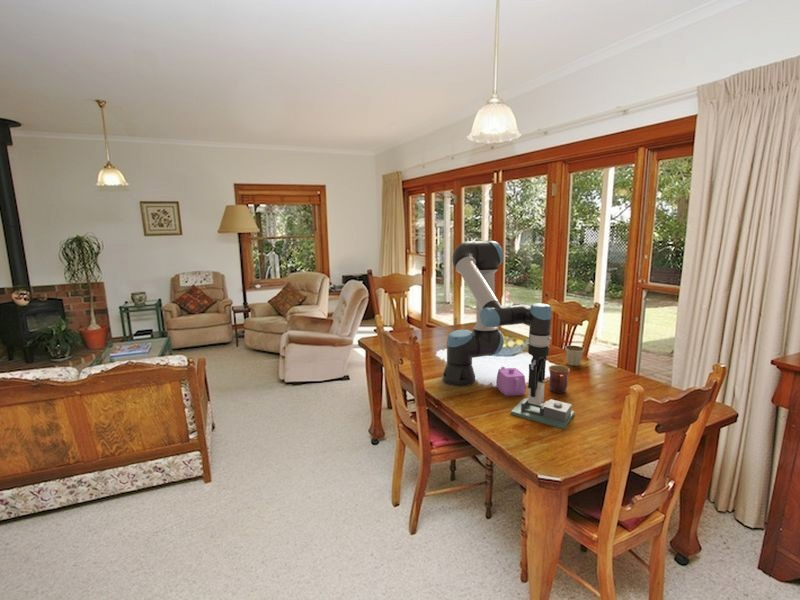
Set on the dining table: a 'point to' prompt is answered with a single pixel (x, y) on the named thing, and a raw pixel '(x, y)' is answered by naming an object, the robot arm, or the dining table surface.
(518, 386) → the teapot
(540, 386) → the light grey block
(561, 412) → the board
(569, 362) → the flower pot
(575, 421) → the dining table surface
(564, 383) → the mug
